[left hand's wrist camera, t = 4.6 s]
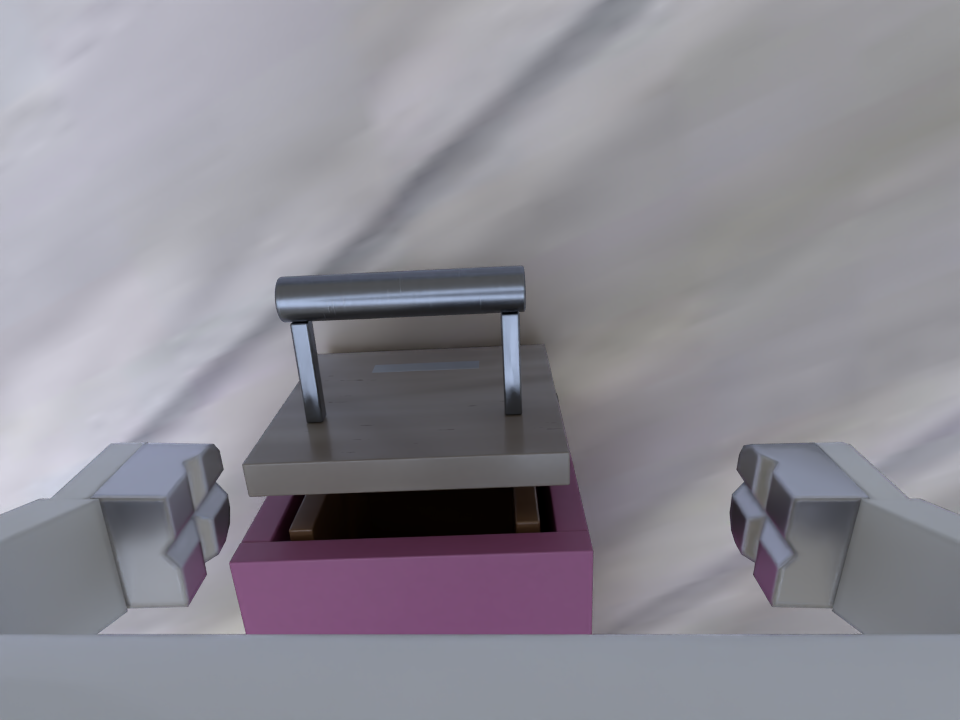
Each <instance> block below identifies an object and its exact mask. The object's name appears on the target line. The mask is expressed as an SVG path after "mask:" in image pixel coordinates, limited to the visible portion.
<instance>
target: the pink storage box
mask: <svg viewBox="0 0 960 720" xmlns="http://www.w3.org/2000/svg"><path fill="white" fill-rule="evenodd" d="M556 395H557V393H556ZM557 399H558V396H557ZM558 404H559V403H558ZM559 408H560V407H559ZM560 412H561V411H560ZM561 417H562V415H561ZM562 421H563V420H562ZM563 425H564V424H563ZM564 430H565V428H564ZM565 434H566V432H565ZM566 438H567V437H566ZM567 442H568V441H567ZM568 447H569V445H568ZM569 451H570V450H569ZM536 493H537V501H538V509H539V517H540V533H514V534H485V535H456V536H426V537H397V538H368V539H339V540H310V541H291V539H290V534H289V529H290V527H291V525H292V523H293V521H294V519H295V516H296V514H297V512H298V510H299V508H300V506H301V504H302V502H303V499H304V497H305V495H284V496H267V498H266V499H265V501H264V503H263V505H262V506H261V508H260V510H259V512H258V513H257V515H256V517H255V519H254V521H253V522H252V524H251V526H250V528H249V529H248V531H247V533H246V535H245V537H244V538H243V540H242V543H240V545H239V546H238V548H237V550H236V552H235V554H234V555H233V557H232V559H231V561H230V563H229V565H230V569H231V573H232V577H233V581H234V586H235V590H236V594H237V598H238V602H239V607H240V611H241V615H242V619H243V623H244V627H245V632H246V634H592V593H593V548H592V544H591V539H590V535H589V532H588V527H587V522H586V518H585V514H584V509H583V505H582V501H581V497H580V492H579V488H578V484H577V479H576V475H575V471H574V467H573V462H572V458H571V454H570V484H569V485H558V486H536Z"/></svg>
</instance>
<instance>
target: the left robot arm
mask: <svg viewBox="0 0 960 720" xmlns="http://www.w3.org/2000/svg"><path fill="white" fill-rule="evenodd" d="M223 470H224V469H223V465H222V460H221V455H220V451H219V449H218V448H217V447H216V446H215V445H214V444H191V443H147V442H130V443H113V444H110V445H109V446H108V447H107V448H105V449H104V450H103V451H102V452H101V453H100V454H99V455H98V456H97V457H96V458H95V459H93V460H92V461H91V462H90V463H89V464H88V465H87V466H86V467H85V468H84V469H82V470H81V471H80V472H79V473H78V474H77V475H76V476H75V477H74V478H73V479H72V480H70V481H69V482H68V483H67V484H66V485H65V486H64V487H63V488H62V489H61V490H59V491H58V492H57V493H56V494H55V495H54V496H53V497H52V498H51V499H38V500H35V501H33V502H30V503H28V504H25V505H23V506H20V507H18V508H16V509H13V510H11V511H8V512H6V513H3V514H1V515H0V720H960V515H959V514H957V513H954V512H952V511H949V510H947V509H944V508H942V507H939V506H937V505H935V504H932V503H930V502H927V501H925V500H922V499H909V498H908V497H907V496H906V495H905V494H904V493H903V492H902V491H901V490H900V489H898V488H897V487H896V486H895V485H894V484H893V483H892V482H891V481H890V480H889V479H888V478H886V477H885V476H884V475H883V474H882V473H881V472H880V471H879V470H878V469H877V468H875V467H874V466H873V465H872V464H871V463H870V462H869V461H868V460H867V459H866V458H865V457H863V456H862V455H861V454H860V453H859V452H858V451H857V450H856V449H855V448H854V447H853V446H851V445H850V444H847V443H844V442H828V443H780V444H750V445H744V446H743V448H742V450H741V452H740V454H739V458H738V464H737V469H736V470H737V471H738V473H739V474H740V476H741V477H742V479H743V480H744V483H743V484H742V485H741V486H740V487H739V488H738V489H737V490H736V491H735V492H734V493H733V494H732V499H731V507H730V522H731V531H732V534H733V538H734V541H735V543H736V545H737V547H738V549H739V551H740V553H741V554H742V555H743V556H745V557H747V558H748V559H750V560H751V561H753V562H755V567H754V573H753V575H754V577H755V579H756V580H757V582H758V584H759V585H760V587H761V589H762V590H763V592H764V594H765V596H766V597H767V599H768V601H769V602H770V604H771V606H772V607H800V608H833V610H832V611H833V612H834V613H836V614H837V615H838V616H840V617H841V618H842V619H844V620H845V621H846V622H848V623H849V624H850V625H852V626H853V627H854V628H856V629H857V630H858V631H860V632H861V633H862V634H98V633H99V632H101V631H102V630H103V629H105V628H106V627H107V626H109V625H110V624H111V623H113V622H114V621H115V620H117V619H118V618H119V617H121V616H122V615H123V614H125V613H126V612H127V611H128V610H127V608H159V607H188V606H189V604H190V602H191V601H192V599H193V597H194V596H195V594H196V592H197V591H198V589H199V587H200V585H201V584H202V582H203V580H204V579H205V577H206V575H207V573H206V567H205V562H207V561H209V560H210V559H212V558H213V557H215V556H217V555H218V554H219V553H220V551H221V549H222V547H223V545H224V543H225V541H226V537H227V533H228V529H229V525H230V505H229V499H228V494H227V493H226V492H225V491H224V490H223V489H222V488H221V487H220V486H219V485H218V484H217V483H216V480H217V479H218V477H219V476H220V474H221V473H222V471H223Z"/></svg>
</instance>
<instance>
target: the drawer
mask: <svg viewBox="0 0 960 720" xmlns="http://www.w3.org/2000/svg"><path fill="white" fill-rule="evenodd" d="M275 304H276V309H277V313H278V315H279V318H280V319H281V321H283V322H292V323H291V324H290V327H291V333H292V339H293V345H294V350H295V356H296V362H297V368H298V374H299V380H300V381H299V382H298V384H297V385H296V387H295V388H294V390H293V391H292V393H291V394H290V395H289V397H288V398H287V400H286V401H285V403H284V404H283V406H282V407H281V409H280V410H279V412H278V413H277V414H276V416H275V417H274V419H273V420H272V422H271V423H270V425H269V426H268V428H267V429H266V431H265V432H264V434H263V435H262V436H261V438H260V439H259V441H258V442H257V444H256V445H255V447H254V448H253V450H252V451H251V453H250V454H249V456H248V457H247V458H246V460H245V461H244V463H243V465H242V466H243V471H244V475H245V480H246V485H247V489H248V494H249V497H257V496H284V495H305V497H304V499H303V502H302V504H301V506H300V508H299V510H298V512H297V514H296V516H295V519H294V521H293V523H292V525H291V527H290V529H289V534H290V539H291V541H310V540H339V539H368V538H397V537H426V536H456V535H485V534H514V533H540V517H539V509H538V501H537V493H536V486H558V485H569V484H570V451H569V447H568V442H567V438H566V434H565V430H564V425H563V421H562V417H561V412H560V408H559V404H558V399H557V395H556V391H555V387H554V382H553V378H552V374H551V369H550V365H549V361H548V356H547V352H546V348H545V345H544V344H541V345H520V321H519V312H524V311H525V309H526V291H525V273H524V267H523V266H501V267H480V268H459V269H438V270H416V271H395V272H374V273H352V274H331V275H310V276H289V277H280V278H279V279H278V280H277V283H276V287H275ZM482 313H501V335H502V346H495V347H471V348H448V349H425V350H402V351H379V352H356V353H333V354H317V350H316V343H315V337H314V330H313V324H312V321H326V320H348V319H371V318H393V317H415V316H438V315H460V314H482Z"/></svg>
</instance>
